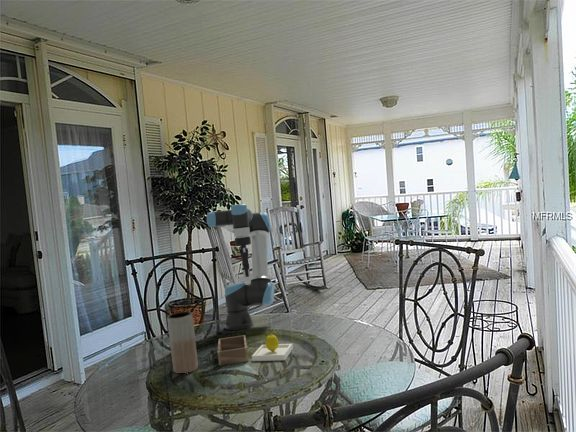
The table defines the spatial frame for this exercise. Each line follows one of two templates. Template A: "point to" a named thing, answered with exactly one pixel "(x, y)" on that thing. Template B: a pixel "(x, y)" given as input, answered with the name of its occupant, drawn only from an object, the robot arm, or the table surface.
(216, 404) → the table surface
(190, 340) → the planter
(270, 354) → the plate
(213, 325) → the table surface
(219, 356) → the open wooden box frame
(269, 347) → the fruit
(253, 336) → the table surface
